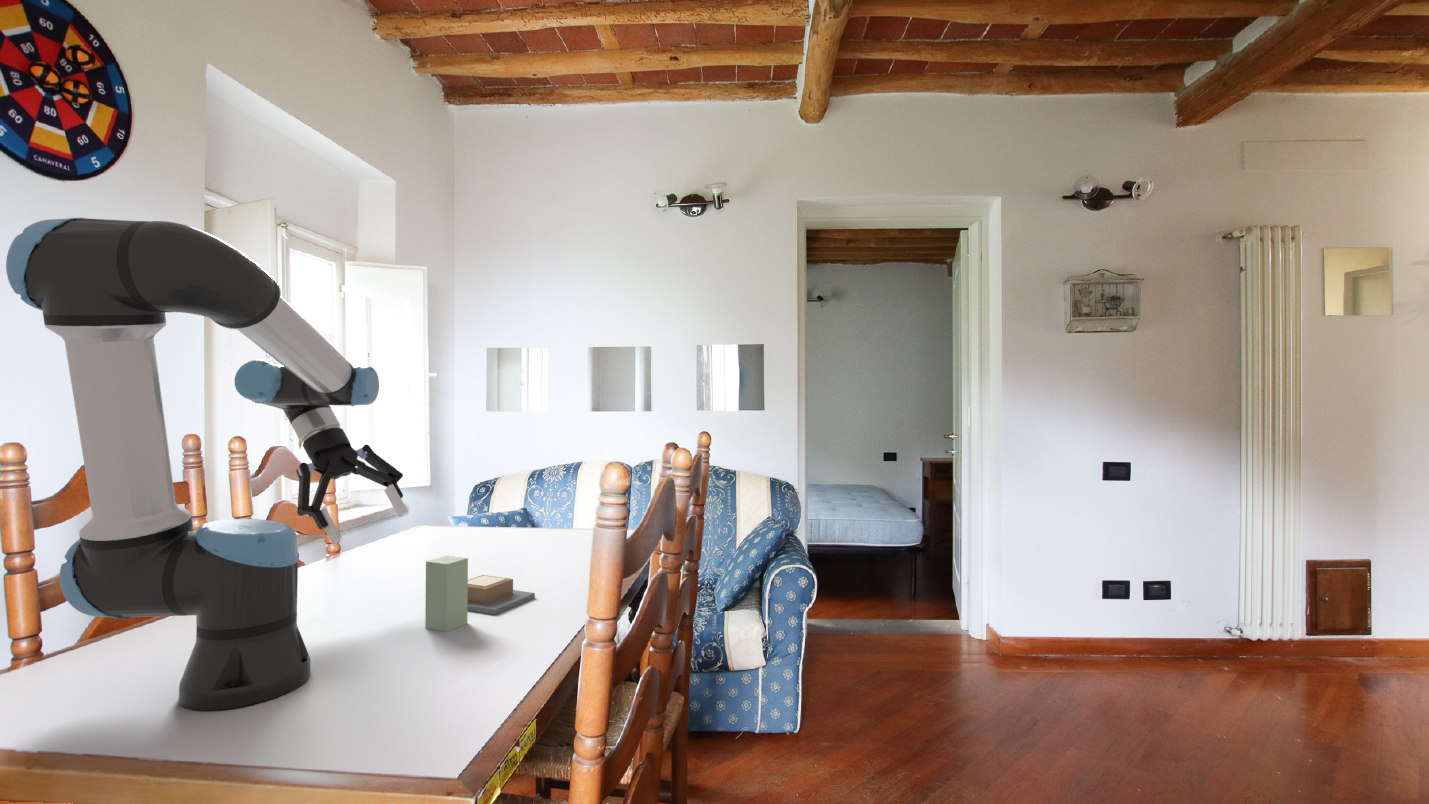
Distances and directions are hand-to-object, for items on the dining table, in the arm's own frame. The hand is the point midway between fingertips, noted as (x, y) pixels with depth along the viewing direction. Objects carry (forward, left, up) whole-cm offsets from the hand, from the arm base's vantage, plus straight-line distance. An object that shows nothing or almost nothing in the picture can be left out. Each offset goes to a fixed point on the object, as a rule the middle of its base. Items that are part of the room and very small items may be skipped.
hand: (372, 527), depth 125 cm
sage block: (-1, -21, -16) cm, 26 cm away
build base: (+13, -17, -16) cm, 26 cm away
